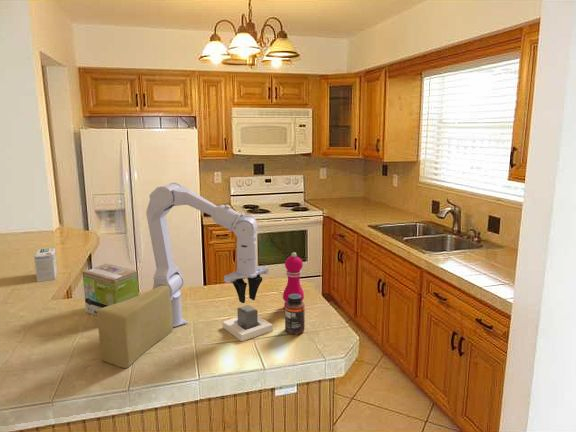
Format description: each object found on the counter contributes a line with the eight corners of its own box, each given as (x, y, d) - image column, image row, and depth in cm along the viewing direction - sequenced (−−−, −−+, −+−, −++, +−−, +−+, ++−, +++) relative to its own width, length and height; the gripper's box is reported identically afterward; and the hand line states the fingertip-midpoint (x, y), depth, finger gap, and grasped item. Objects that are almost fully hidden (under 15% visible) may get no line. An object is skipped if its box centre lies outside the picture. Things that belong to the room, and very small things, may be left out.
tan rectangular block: (159, 326, 132) (156, 281, 129) (183, 333, 127) (181, 286, 124) (99, 361, 112) (94, 308, 109) (126, 370, 108) (121, 315, 105)
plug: (246, 332, 127) (246, 312, 126) (237, 326, 131) (237, 307, 130) (257, 328, 130) (257, 309, 128) (248, 322, 134) (248, 304, 132)
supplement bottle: (299, 324, 134) (300, 291, 131) (307, 333, 128) (308, 298, 126) (282, 327, 132) (282, 293, 129) (289, 336, 126) (289, 300, 124)
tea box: (84, 313, 141) (80, 270, 138) (110, 302, 149) (106, 262, 146) (116, 323, 134) (113, 278, 131) (141, 311, 143) (138, 269, 140)
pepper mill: (301, 313, 142) (302, 256, 138) (280, 311, 143) (281, 254, 139) (305, 304, 149) (306, 250, 145) (285, 303, 150) (285, 248, 146)
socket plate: (241, 341, 123) (241, 334, 122) (222, 327, 131) (222, 320, 131) (272, 330, 130) (272, 323, 129) (252, 318, 138) (252, 311, 138)
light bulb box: (39, 273, 178) (36, 249, 175) (57, 271, 180) (54, 247, 178) (36, 282, 168) (33, 256, 166) (55, 279, 171) (53, 254, 169)
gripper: (232, 265, 118) (233, 311, 121) (274, 256, 127) (274, 298, 130) (220, 259, 124) (221, 303, 126) (260, 251, 133) (261, 291, 135)
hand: (247, 300), depth 129 cm, fingers open, 3 cm apart
